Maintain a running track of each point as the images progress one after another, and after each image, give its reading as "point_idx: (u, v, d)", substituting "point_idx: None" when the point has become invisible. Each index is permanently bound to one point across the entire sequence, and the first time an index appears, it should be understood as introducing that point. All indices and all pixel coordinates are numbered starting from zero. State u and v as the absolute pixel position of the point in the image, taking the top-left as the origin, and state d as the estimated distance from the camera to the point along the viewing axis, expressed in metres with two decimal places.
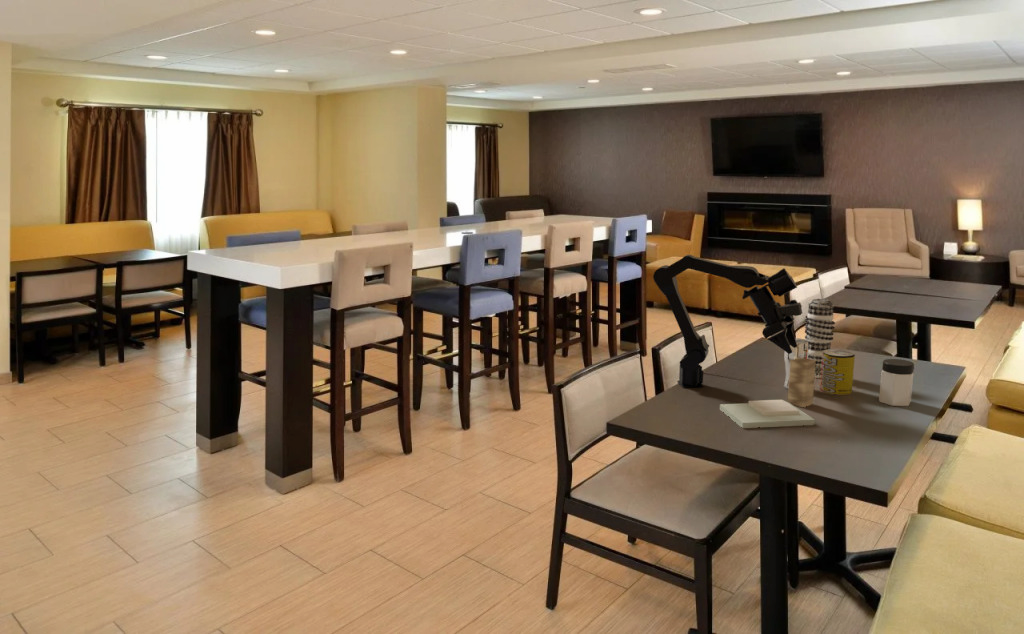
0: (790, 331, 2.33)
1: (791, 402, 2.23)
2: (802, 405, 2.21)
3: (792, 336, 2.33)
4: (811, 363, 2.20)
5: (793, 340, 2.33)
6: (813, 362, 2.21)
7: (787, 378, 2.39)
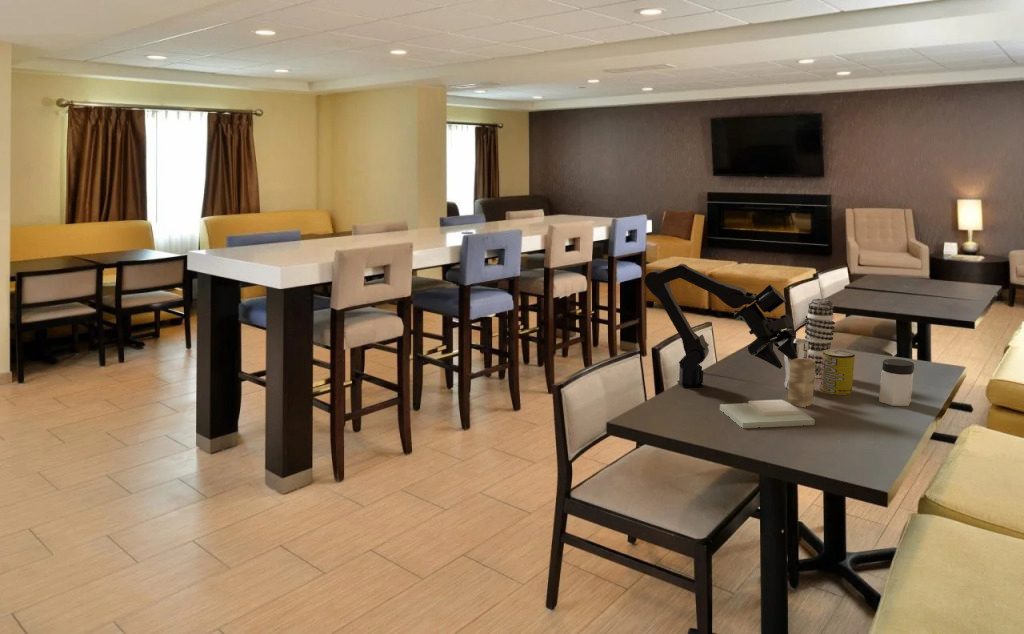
0: (790, 346, 2.30)
1: (791, 402, 2.23)
2: (802, 405, 2.21)
3: (792, 351, 2.29)
4: (811, 363, 2.20)
5: (794, 355, 2.29)
6: (813, 362, 2.21)
7: (787, 378, 2.39)
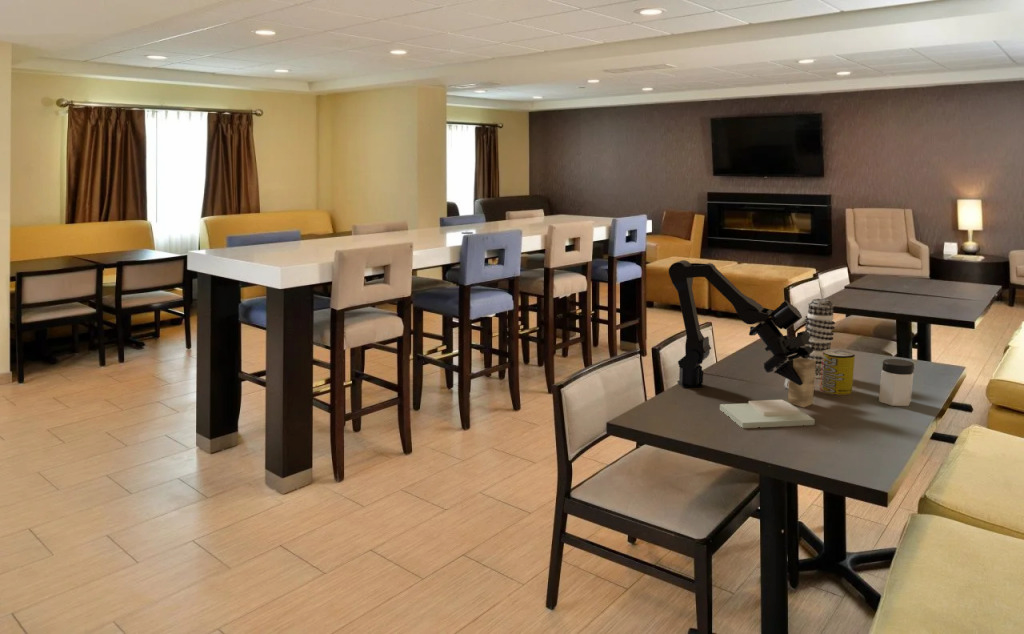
0: None
1: (791, 402, 2.23)
2: (802, 405, 2.21)
3: None
4: (811, 363, 2.20)
5: None
6: (813, 362, 2.21)
7: None
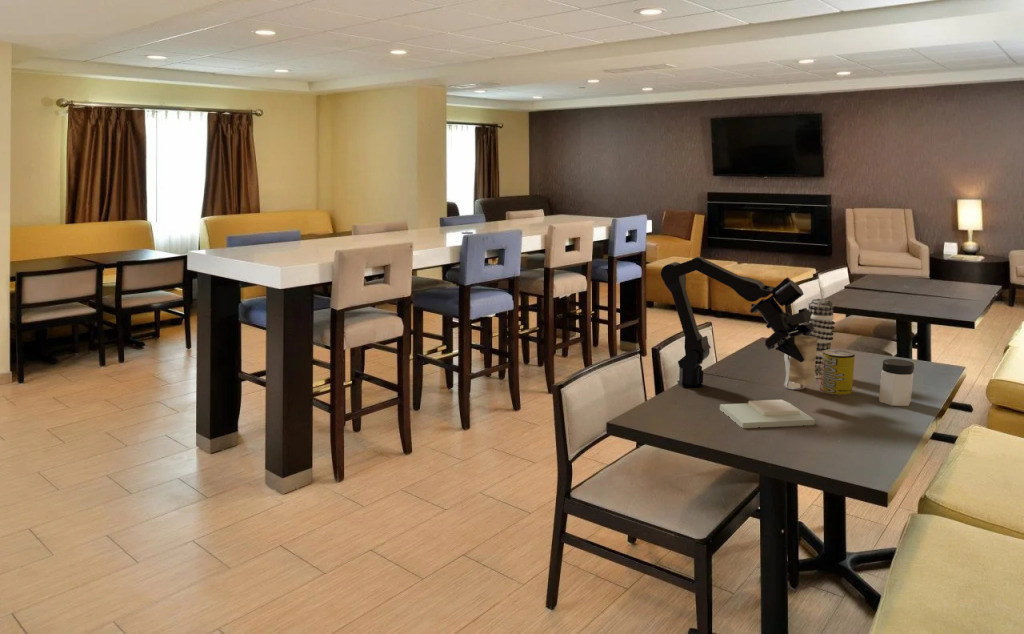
0: None
1: (792, 379, 2.22)
2: (803, 382, 2.20)
3: None
4: (813, 340, 2.19)
5: None
6: (815, 339, 2.19)
7: (787, 378, 2.39)
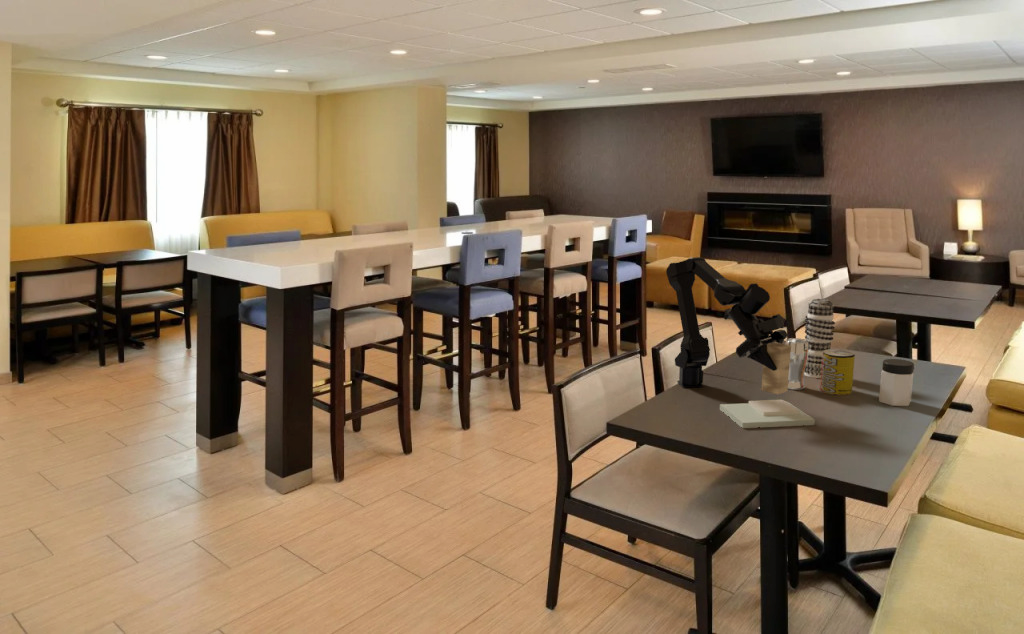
0: None
1: (765, 389, 2.13)
2: (776, 392, 2.11)
3: None
4: (786, 348, 2.10)
5: None
6: (788, 347, 2.10)
7: None
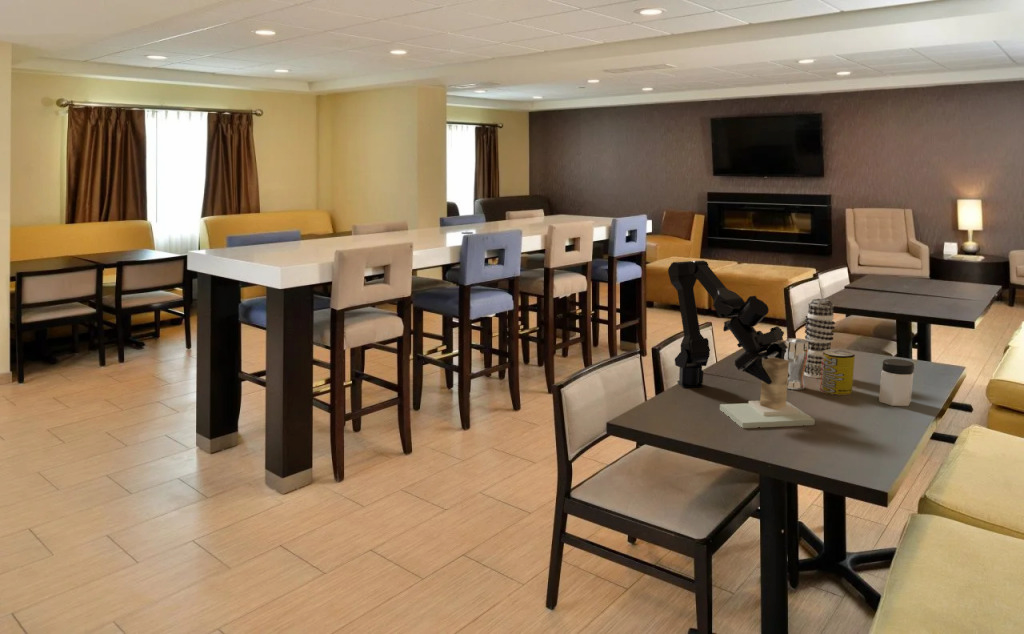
0: None
1: (763, 404, 2.14)
2: (775, 407, 2.11)
3: None
4: (784, 363, 2.10)
5: None
6: (786, 362, 2.11)
7: None
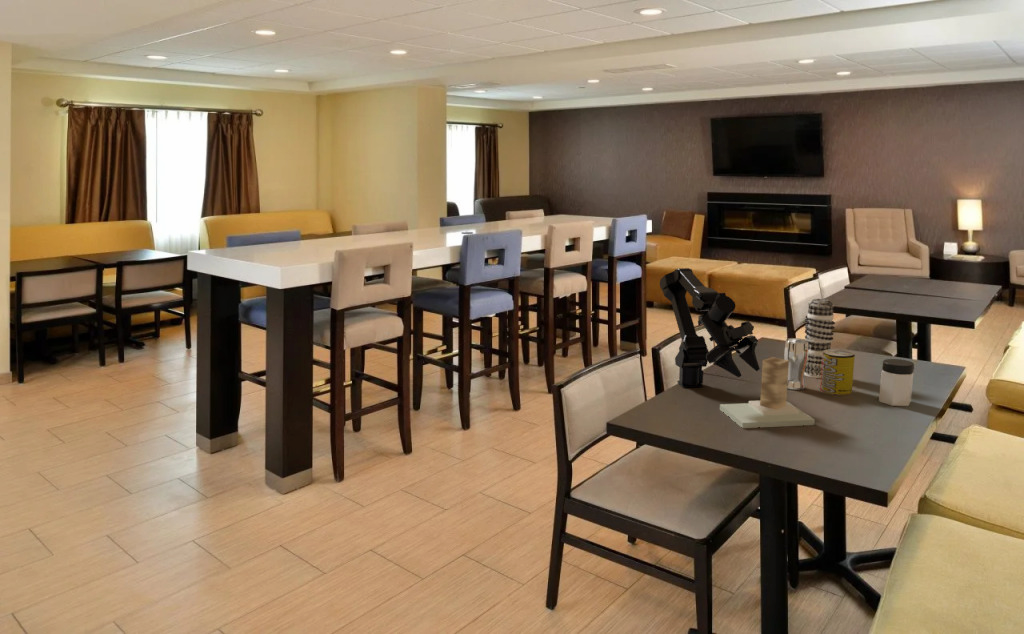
0: (751, 354, 2.23)
1: (763, 404, 2.14)
2: (775, 407, 2.11)
3: (753, 359, 2.23)
4: (784, 363, 2.10)
5: (754, 363, 2.23)
6: (786, 362, 2.11)
7: None
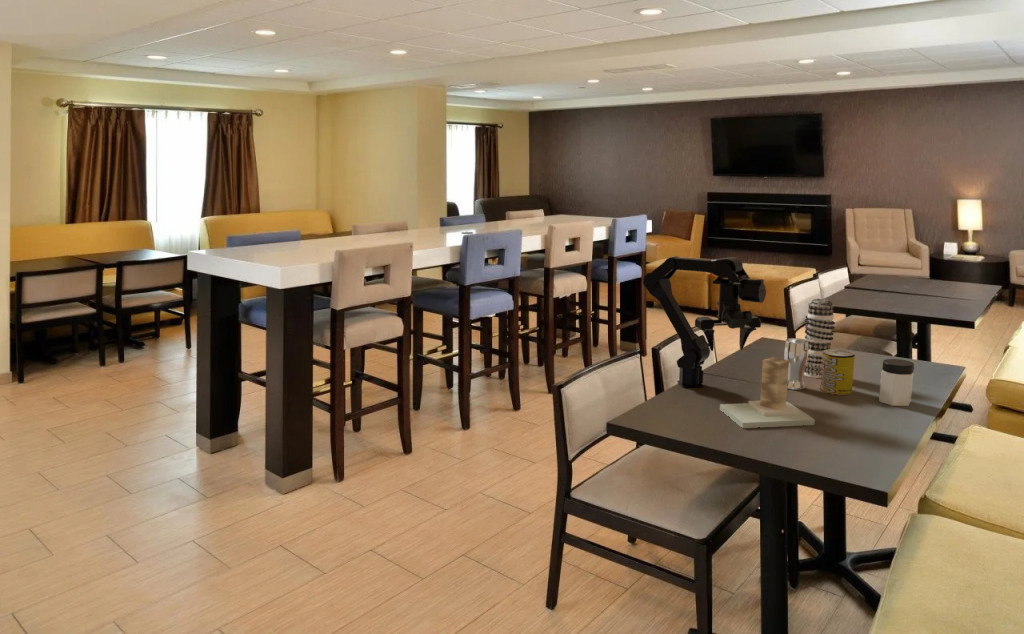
0: (744, 334, 2.33)
1: (763, 404, 2.14)
2: (775, 407, 2.11)
3: (742, 339, 2.33)
4: (784, 363, 2.10)
5: (741, 343, 2.34)
6: (786, 362, 2.11)
7: None
